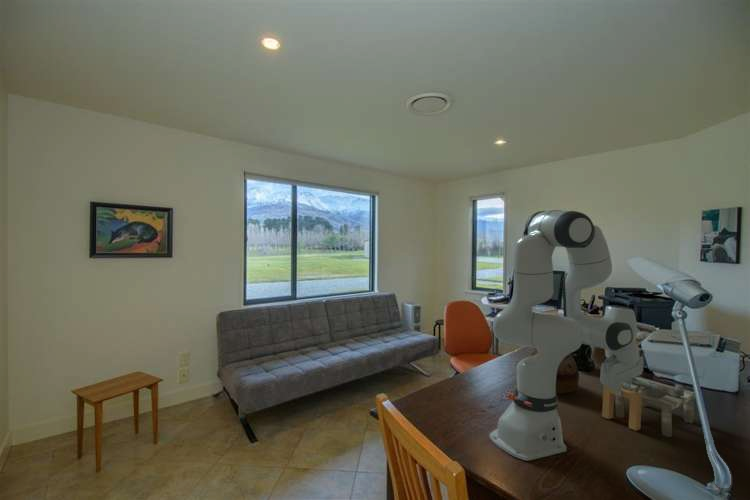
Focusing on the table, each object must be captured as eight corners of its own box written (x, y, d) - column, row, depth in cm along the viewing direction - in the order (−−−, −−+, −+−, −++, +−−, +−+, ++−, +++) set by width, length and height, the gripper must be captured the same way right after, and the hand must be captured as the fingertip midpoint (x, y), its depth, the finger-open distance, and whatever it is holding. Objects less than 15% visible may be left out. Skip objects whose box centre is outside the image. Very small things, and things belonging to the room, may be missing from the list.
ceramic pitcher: (530, 394, 131) (529, 321, 131) (523, 375, 150) (522, 311, 150) (586, 400, 125) (585, 323, 125) (570, 380, 145) (570, 313, 144)
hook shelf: (671, 438, 100) (670, 393, 100) (613, 415, 114) (612, 375, 114) (696, 422, 109) (695, 381, 108) (639, 402, 123) (639, 366, 123)
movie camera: (609, 366, 158) (606, 331, 158) (591, 376, 148) (588, 338, 148) (547, 352, 184) (544, 321, 184) (528, 360, 175) (525, 327, 175)
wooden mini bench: (640, 429, 105) (642, 394, 106) (635, 430, 104) (637, 395, 104) (606, 415, 114) (608, 383, 115) (601, 416, 113) (603, 384, 113)
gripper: (615, 362, 101) (616, 406, 102) (647, 349, 111) (648, 389, 111) (593, 356, 107) (595, 398, 107) (625, 344, 116) (627, 382, 117)
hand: (622, 393), depth 109 cm, fingers open, 3 cm apart
